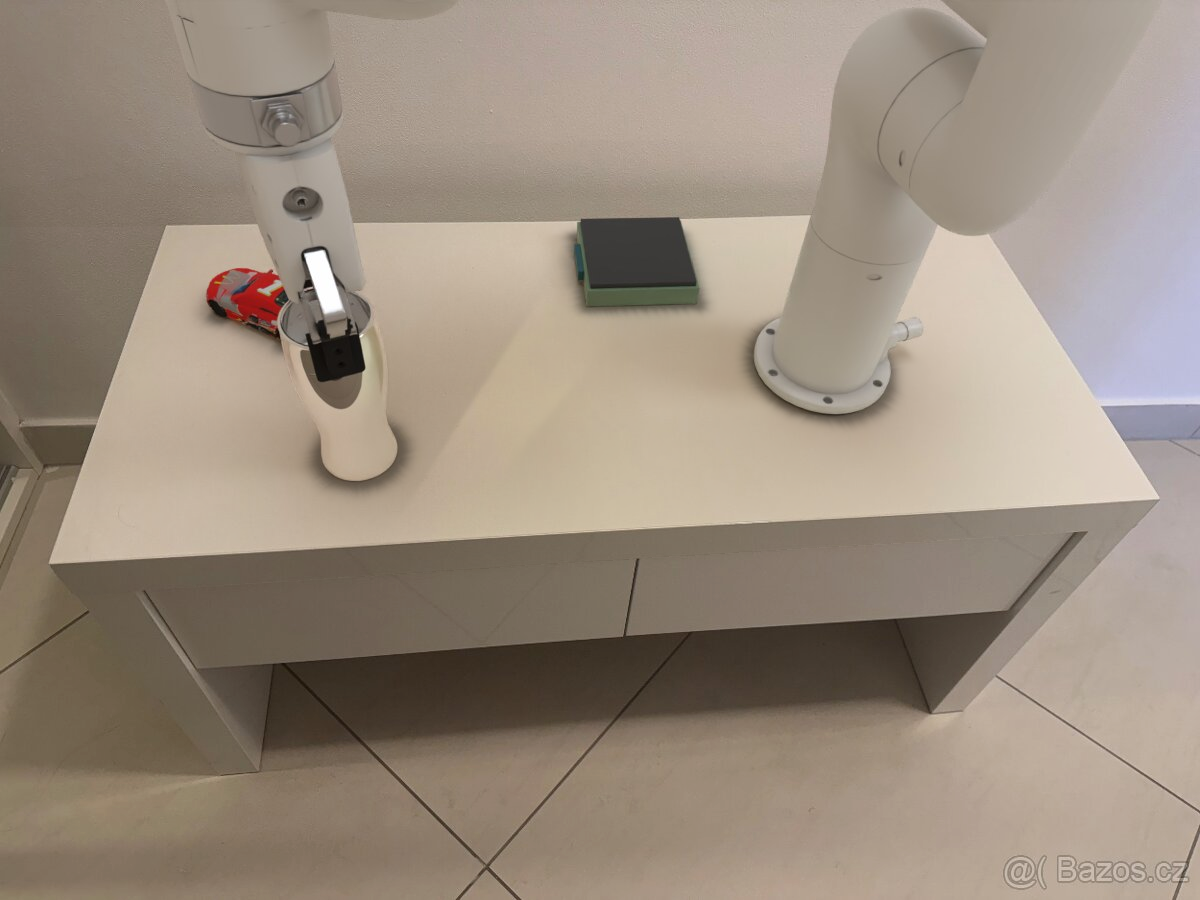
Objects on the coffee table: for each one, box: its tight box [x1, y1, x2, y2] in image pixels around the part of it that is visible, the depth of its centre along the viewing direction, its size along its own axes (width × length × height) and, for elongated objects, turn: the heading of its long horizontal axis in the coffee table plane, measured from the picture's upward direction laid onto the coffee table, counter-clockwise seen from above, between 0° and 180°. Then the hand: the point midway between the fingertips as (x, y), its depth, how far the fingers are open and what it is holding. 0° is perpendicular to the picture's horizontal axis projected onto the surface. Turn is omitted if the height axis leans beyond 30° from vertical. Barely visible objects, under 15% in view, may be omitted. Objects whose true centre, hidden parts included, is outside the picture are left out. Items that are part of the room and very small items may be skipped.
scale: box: [573, 216, 700, 307], centre depth 87 cm, size 12×11×3 cm
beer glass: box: [277, 287, 398, 482], centre depth 65 cm, size 7×7×15 cm
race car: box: [205, 267, 309, 341], centre depth 79 cm, size 13×5×4 cm, turn 62°
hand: (323, 327), depth 60 cm, fingers open, 9 cm apart
